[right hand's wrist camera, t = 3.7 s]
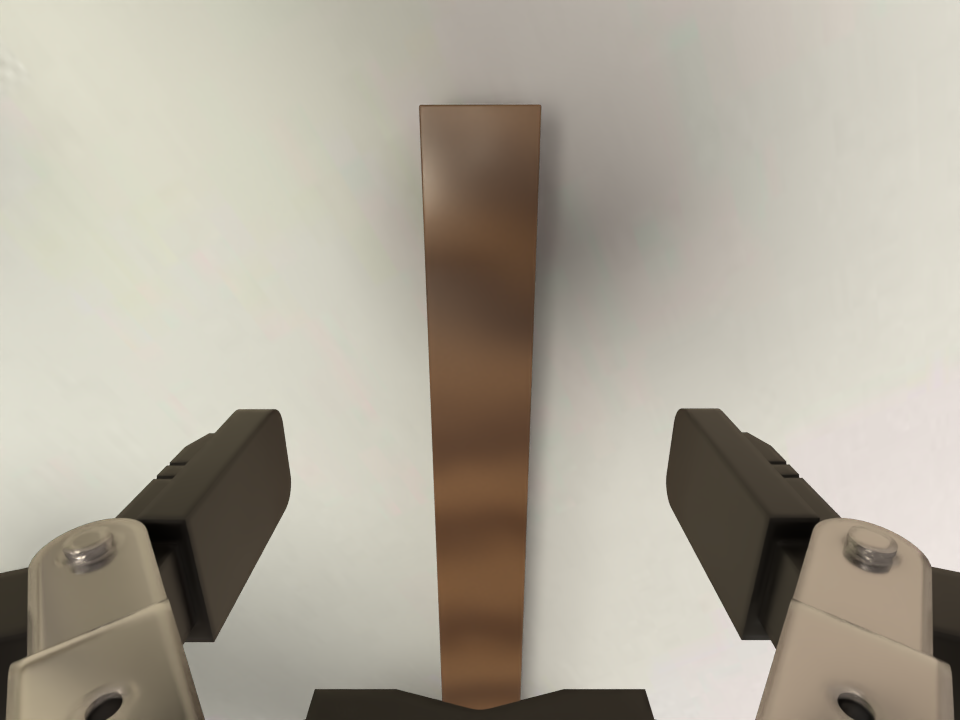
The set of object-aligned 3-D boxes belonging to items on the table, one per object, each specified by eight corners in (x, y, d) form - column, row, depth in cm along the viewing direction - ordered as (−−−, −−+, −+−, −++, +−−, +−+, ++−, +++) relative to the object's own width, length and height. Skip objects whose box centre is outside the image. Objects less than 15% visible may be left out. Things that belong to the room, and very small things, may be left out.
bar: (433, 114, 26) (418, 104, 20) (526, 114, 26) (541, 104, 20) (454, 792, 45) (449, 897, 39) (508, 792, 45) (513, 896, 39)
